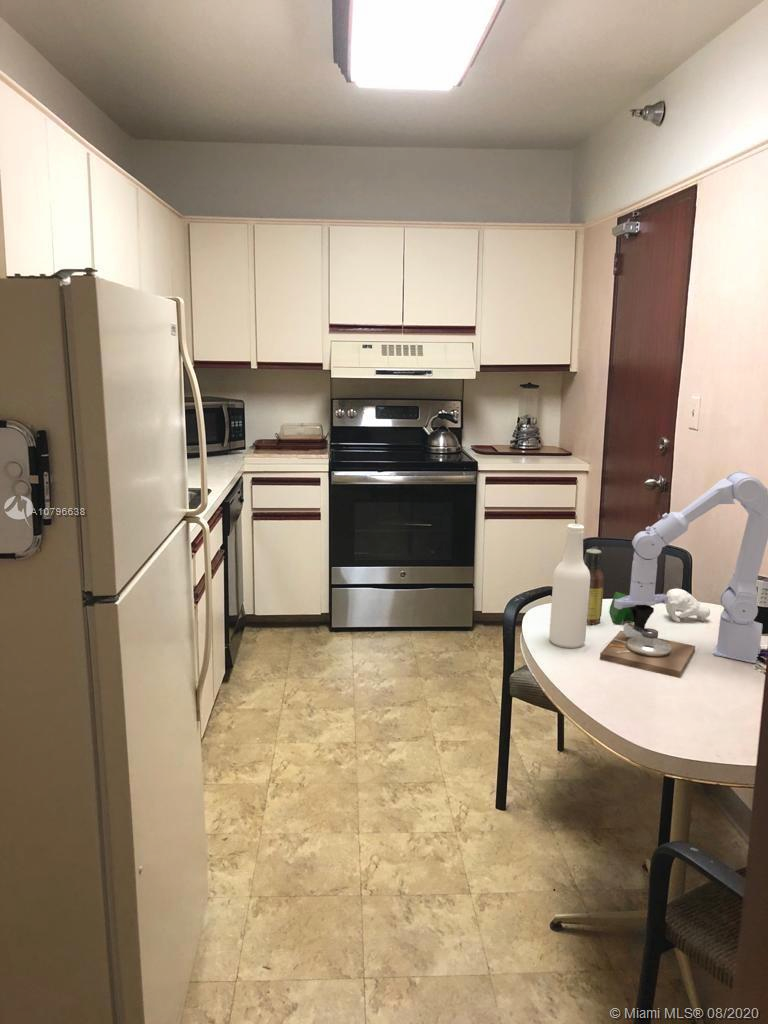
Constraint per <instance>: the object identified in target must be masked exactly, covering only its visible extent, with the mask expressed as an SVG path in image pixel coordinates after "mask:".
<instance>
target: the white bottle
mask: <svg viewBox="0 0 768 1024" xmlns="http://www.w3.org/2000/svg"><path fill="white" fill-rule="evenodd" d="M566 528H567V529H566V539H565V544H564V545H565V546H564V552H563V558H562V559H561V562H560V563H559V564H557V566H556V567H555V569H554V572H553V577H552V591H551V592H552V593H551V603H550V605H551V607H550V622H549V633H548V634H549V635H548V638H549V640H550V642H551V643H552V644H553V645H554V644H555V646H557V647H560V646H561V647H560V648H564V647H565V649H577V648H581V647H582V646H583V645H584V644H585V642H586V638H587V637H586V635H587V627H588V626H587V613H588V601H589V589H590V572H589V570H588V568H587V566H586V565H585V564H586V563H585V561H584V533H585V531H584V529H585V526H584V525H582V524H579V523H570V524H568V525H567V526H566Z"/></svg>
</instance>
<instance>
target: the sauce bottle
mask: <svg viewBox="0 0 768 1024" xmlns="http://www.w3.org/2000/svg"><path fill="white" fill-rule="evenodd" d="M602 554H603V553H602V551H601V550H600V549H597V548H590V549H589V548H588V549H586V550H585V563H584V564H585V565H586V566H587V568H588V570H589V572H590V589H589V601H588V613H587V624H588V625H597V624H599V623H600V622H601V617H602V612H603V611H602V609H603V596H604V579H605V578H604V574H603V571H602V570H601V558H602Z"/></svg>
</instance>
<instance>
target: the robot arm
mask: <svg viewBox="0 0 768 1024" xmlns="http://www.w3.org/2000/svg"><path fill="white" fill-rule="evenodd" d="M735 500H736V501H738V502H739V503H740V505H741V506H742V507H743V509H744V510H745V511H746V512H747V514H748V516H747V519H746V525H745V528H744V532H743V534H742V535H743V536H742V539H741V544H740V548H739V552H738V556H737V559H736V565H735V567H734V572H733V574H732V575H733V576H732V577H731V578H730V579H729V580H728V582H727V586H726V588H725V589H724V590H723V592H722V593H721V595H720V599H719V603H720V605H721V606H722V607H723V610H722V611H721V613H720V619H719V627H718V635H717V643H716V644H715V647H714V649H713V651H712V655H713V656H719V657H722V658H723V657H724V658H728V659H731V660H738V661H742V662H747V663H751V664H756V663H757V661H758V658H759V655H760V654H761V648H762V646H761V641H762V633H763V623H761V622H758V621H755V619H756V617H757V616H758V613H759V608H758V605H757V599H758V597H759V596H758V590H757V589H758V588H757V582H758V577H759V573H760V570H761V566H762V562H763V559H764V555H765V551H766V547H767V543H768V488H767V487H766V486H765V484H763V482H761V481H760V479H758V478H756V477H754V476H752V475H750V474H749V473H748V472H745V471H741V470H737V471H733V472H731V473H730V474H728V476H727V477H724V478H722V479H720V480H719V481H718V482H716V483H715V484H714V485H713V486H712V487H711V488H709V489H708V490H706V491H705V492H704V493H703V494H701V495H700V496H699V497H698V498H696V499H694V500H693V502H691V503H690V504H688V505H687V506H686V507H685V508H684V509H682V510H681V511H671V512H669V513H667V512H665V513H664V514H662V516H661V519H660V520H658V521H657V522H655V523H654V524H653V525H651V526H649V525H648V526H647V527H645V530H643V531H642V530H641V531H639V532H637V534H635V536H634V537H633V540H631V544H632V547H633V549H634V551H633V556H632V557H633V560H632V564H631V565H632V566H631V576H630V587H629V595H628V596H626V597H623V598H620V599H615V600H614V607H615V608H617V609H622V608H626V607H629V609H630V611H631V613H632V616H633V619H634V623H633V624H635V625H637V626H639V627H641V628H643V629H645V628H646V623H647V622H648V620H649V618H650V617H651V616H652V614H654V610H655V608H654V607H653V606H656V605H658V604H659V605H660V604H664V605H666V604H668V597H669V596H667V594H664V593H657V594H655V593H656V582H657V571H658V557H659V556H660V555H661V553H662V550H663V548H664V547H666V546H668V545H669V544H670V543H673V542H674V541H675V540H676V539H678V538H680V537H681V536H682V535H684V534H685V533H687V532H688V530H689V525H690V523H691V522H693V521H695V520H697V519H698V518H699V517H701V516H703V515H704V514H706V513H708V512H710V511H711V510H712V509H713V508H716V507H717V506H719V505H735V504H736V503H735ZM758 654H759V655H758ZM757 657H758V658H757ZM756 660H757V661H756Z"/></svg>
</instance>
